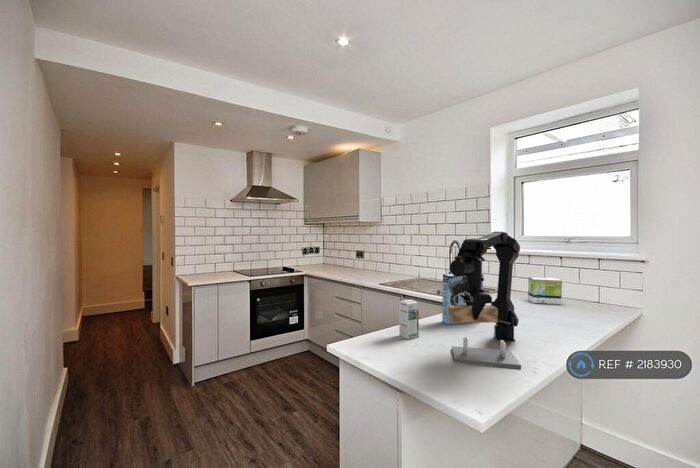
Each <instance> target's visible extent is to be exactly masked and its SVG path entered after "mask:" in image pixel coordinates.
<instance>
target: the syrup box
mask: <svg viewBox="0 0 700 468" xmlns="http://www.w3.org/2000/svg"><path fill="white" fill-rule="evenodd" d="M398 305H399V309H398V310H399V311H398V312H399V313H398V314H399V321H398V323H399V327H398V328H399V336H401V337H402V338H405V339H407V340H410V339H414V338H419V336H420V334H419V333H420V332H419V330H420V329H419V328H420V326H419V325H420V324H419V322H420V321H419V320H420V319H419V308H420V307H419V302H418V301H416V300H414V299H406V300H400V301H399V304H398Z"/></svg>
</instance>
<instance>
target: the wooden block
mask: <svg viewBox="0 0 700 468" xmlns="http://www.w3.org/2000/svg"><path fill="white" fill-rule="evenodd" d="M448 319H449V320H450V321H451V322H466V323H484V324H486V323H487V324H489V323H495V324H496V323H498V308H496V307H494V306H492V305H491V304H490V305H489V304H488V305H487V304H486V305H485V306H484V308H483V309H482V311H481V313H480V315H479V317H478V318H477V320H474V319H473V313H472V305H448Z"/></svg>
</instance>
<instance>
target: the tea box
mask: <svg viewBox="0 0 700 468" xmlns="http://www.w3.org/2000/svg"><path fill="white" fill-rule="evenodd" d="M562 282H563V280H561V279H558V278H555V277H543V276H541V277H539V276H529V277H528V281H527V283H528V289H527V301H530V302H531V303H533V304H545V303H546V304H545V305H547V304H548V305H558V304H560V305H562V288H563V287H562V285H563V283H562Z"/></svg>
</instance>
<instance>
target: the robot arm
mask: <svg viewBox="0 0 700 468" xmlns="http://www.w3.org/2000/svg"><path fill="white" fill-rule="evenodd" d="M491 247H493V249H494V250H495V256H496V258H497V259H498V261H499V265H498V266H499V267H498V268H499V270H498V281H497V292H496V294H497V295H496V298H495V299H494V301H493V297H492V296H491V295H490V294H488V293H487V292H484V291H485V290H484V288H483V289H482V281H483V282H484V281H485V278H484V277H483V278H482V274H483V262H485V257H483V256H484V255H485V254H486V253H487V252H488V249H489V248H491ZM520 251H521V246H520V244H519V243H518V241H517V239H515V238H514V237H512V236H510V235H509V234H508V233H507V232H505V231H492V232H491V233H488V234H486V235H484V236H481V237H479V238H478V237H477V238H465V239H464V240H462V243H461V246H460V248H459V250H458V252H457V255H456V256H455V257H454V260H452V261H451V263H450V265H449V271H450V274H453V275H454V276H457V277H459V276H463V277H462V280H461V281H458V282H455V283H452V284H449V285H448V287H449V290H450V293H451V294H453V295H458V294H460V293H462V295H460V296H461V297H462V298H463V299H464V300H465V304H466V305H472V313H473V319H474V320H477V318H478V317H479V315H480V313H481V311H482V309H483V308H484V306H485V305H487V304H490V305H492V306H494V307H496V308H498V323H495V324H494V326H493V336H494V338H496V340H497V341H500V340H503V341H504V342H505V341H507V342H516V339H515V327H518V325H519V317H518V316H517V314H516V311H515V306H514V304H513V302H512V300H511V294H512V293H511V292H512V280H513V270H514V269H513V268H514V267H513V266H514V263H515V262H516V260H517V259H518V258H519V254H520Z"/></svg>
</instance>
